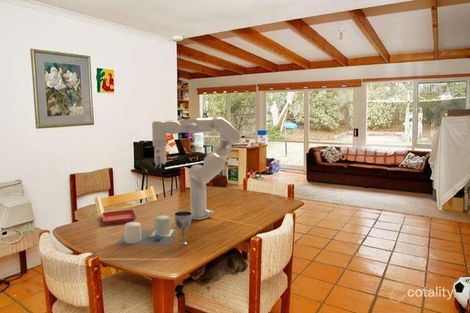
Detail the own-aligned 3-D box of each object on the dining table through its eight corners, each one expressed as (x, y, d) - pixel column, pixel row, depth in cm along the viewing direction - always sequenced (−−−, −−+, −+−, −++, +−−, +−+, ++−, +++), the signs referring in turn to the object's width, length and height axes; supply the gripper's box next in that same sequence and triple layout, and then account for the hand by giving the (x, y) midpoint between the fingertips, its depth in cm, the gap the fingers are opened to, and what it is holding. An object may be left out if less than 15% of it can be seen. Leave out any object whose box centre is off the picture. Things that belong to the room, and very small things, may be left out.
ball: (161, 239, 161) (161, 232, 161) (160, 241, 158) (160, 235, 157) (155, 239, 161) (155, 232, 161) (153, 241, 158) (153, 235, 158)
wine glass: (175, 241, 160) (175, 211, 158) (192, 240, 161) (192, 210, 159) (174, 247, 152) (173, 216, 150) (191, 247, 153) (191, 215, 151)
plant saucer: (102, 217, 198) (101, 212, 198) (133, 214, 205) (133, 209, 205) (103, 226, 182) (102, 221, 181) (136, 222, 189) (136, 217, 188)
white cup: (143, 237, 163) (142, 221, 162) (138, 243, 156) (137, 226, 155) (127, 237, 163) (127, 221, 162) (122, 243, 156) (122, 226, 155)
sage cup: (171, 230, 173) (171, 215, 172) (168, 235, 166) (168, 219, 165) (157, 230, 173) (156, 215, 172) (153, 235, 166) (153, 219, 165)
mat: (177, 230, 174) (177, 229, 174) (169, 246, 154) (169, 244, 153) (128, 230, 175) (128, 229, 174) (114, 246, 154) (114, 244, 154)
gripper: (163, 144, 175) (164, 176, 177) (169, 142, 192) (170, 171, 194) (149, 144, 175) (150, 176, 177) (156, 142, 192) (157, 171, 194)
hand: (160, 173), depth 186 cm, fingers open, 9 cm apart
